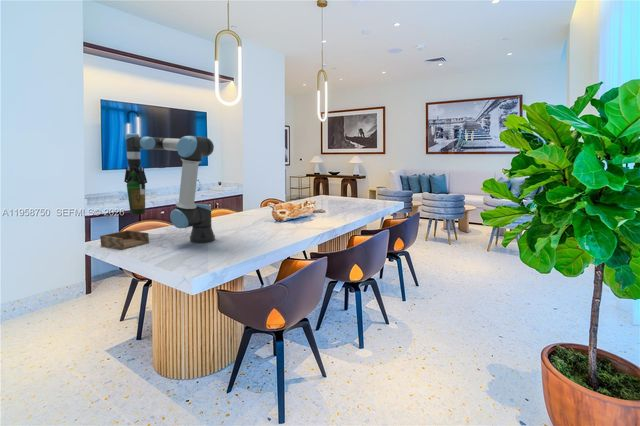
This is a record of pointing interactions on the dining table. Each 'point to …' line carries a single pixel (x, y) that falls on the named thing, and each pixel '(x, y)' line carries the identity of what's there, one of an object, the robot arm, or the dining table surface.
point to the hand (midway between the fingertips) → (136, 193)
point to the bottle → (135, 196)
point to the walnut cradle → (124, 239)
